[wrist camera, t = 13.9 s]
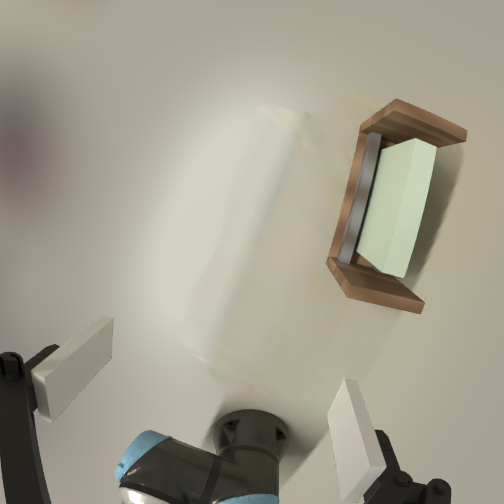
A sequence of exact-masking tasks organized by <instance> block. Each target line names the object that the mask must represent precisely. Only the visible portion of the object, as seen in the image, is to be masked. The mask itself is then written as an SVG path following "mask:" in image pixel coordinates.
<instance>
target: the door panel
mask: <svg viewBox="0 0 504 504" xmlns="http://www.w3.org/2000/svg"><path fill="white" fill-rule="evenodd" d="M436 149H437V147H436V146H433V145H431V144H429V143H426V142H424V141H421V140H419V139H416V138H414V139H411V140H408V141H405V142H403V143H400V144H397V145H394V146H391V147H388V148H385V149H382V150H379V153H378V158H377V162H376V167H375V171H374V176H373V180H372V184H371V188H370V192H369V197H368V201H367V205H366V208H365V212H364V216H363V220H362V224H361V227H360V231H359V235H358V238H357V242H356V245H355V249H354V250H356V251H357V252H358V253H359V254H361V255H362V256H363V257H364V258H365V259H367V260H368V261H369V262H370V263H371V264H373V265H374V266H375V267H376V268H377V269H379V270H380V271H381V272H382V273H386V274H390V275H394V276H397V277H401V278H404V277H405V273H406V270H407V267H408V264H409V261H410V258H411V254H412V251H413V248H414V244H415V241H416V237H417V234H418V230H419V226H420V222H421V219H422V215H423V211H424V207H425V203H426V198H427V194H428V190H429V185H430V180H431V175H432V171H433V165H434V160H435V155H436Z"/></svg>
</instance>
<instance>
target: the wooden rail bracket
mask: <svg viewBox="0 0 504 504" xmlns="http://www.w3.org/2000/svg"><path fill="white" fill-rule="evenodd" d="M466 137H467V130H466V129H464V128H462V127H460V126H458V125H456V124H454V123H452V122H450V121H448V120H445V119H443V118H441V117H439V116H437V115H435V114H432V113H430V112H428V111H426V110H423V109H421V108H419V107H416V106H414V105H411V104H409V103H406V102H404V101H402V100H399V99H395V100H393V101H392V102H391V103H389V104H388V105H387V106H385V107H384V108H382V109H381V110H380V111H378V112H377V113H376V114H374V115H373V116H372V117H370V118H369V119H368V120H366V121H365V122H364V123H362V124H361V127H360V131H359V136H358V141H357V145H356V150H355V154H354V159H353V163H352V168H351V172H350V176H349V180H348V184H347V188H346V192H345V196H344V200H343V204H342V208H341V212H340V216H339V220H338V223H337V227H336V231H335V235H334V238H333V242H332V245H331V249H330V252H329V256H328V259H327V263H326V265H327V266H328V268H329V269H330V271H331V273H332V274H333V276H334V277H335V279H336V281H337V282H338V284H339V285H340V287H341V289H342V290H343V292H344V293H345V295H346V297H347V298H351V299H356V300H360V301H364V302H368V303H373V304H377V305H382V306H386V307H390V308H395V309H399V310H404V311H408V312H413V313H417V314H421V312H422V310H423V307H424V304H425V303H424V301H422V300H421V299H420V298H419V297H418V296H416V295H415V294H414V293H413V292H412V291H410V290H409V289H408V288H407V287H406V286H404V285H403V284H402V283H401V282H399V281H398V280H397V279H396V278H394V277H393V276H392V275H390V274H386V273H382V272H381V271H380V270H379V269H377V268H376V267H375V266H374V265H373V264H371V263H370V262H369V261H368V260H367V259H365V258H364V257H363V256H362V255H361V254H359V253H358V252H357V251H356V250H354V249H355V245H356V242H357V238H358V235H359V231H360V227H361V224H362V220H363V216H364V212H365V208H366V205H367V201H368V197H369V192H370V188H371V184H372V180H373V176H374V171H375V167H376V162H377V158H378V153H379V150H382V149H385V148H388V147H391V146H394V145H397V144H400V143H403V142H405V141H408V140H411V139H414V138H416V139H419V140H421V141H424V142H426V143H429V144H431V145H433V146H436V147H437V148H438V147H443V146H447V145H452V144H457V143H462V142H466Z"/></svg>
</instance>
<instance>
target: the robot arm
mask: <svg viewBox="0 0 504 504" xmlns="http://www.w3.org/2000/svg"><path fill="white" fill-rule="evenodd" d="M112 335H113V318H111V317H108V316H105V315H103V314H102V315H101V316H99V317H98V318H97V319H95V320H94V321H93V322H91V323H90V324H89V325H88V326H86V327H85V328H84V329H82V330H81V331H80V332H79V333H78V334H76V335H75V336H73V337H72V338H71V339H70V340H68V341H67V342H66V343H65V344H63V345H62V346H61V347H60V346H58V345H56V344H54V345H51V346H48V347H46V348H44V349H43V350H42V351H41V352H40V353H38V354H36V355H35V356H34V357H33V358H31V359H30V360H29V361H27V362H26V363H25V364H24V363H23V359H22V357H21V356H20V355H19V354H17V353H15V352H4V353H2V354H0V458H1V459H0V460H1V469H2V478H3V485H4V492H5V498H6V504H51V500H50V497H49V493H48V489H47V485H46V481H45V476H44V472H43V467H42V463H41V458H40V452H39V447H38V441H37V435H36V427H35V419H34V414H33V412H34V411H35V410H36V409H37V408H38V412H39V416H40V417H42V418H43V419H45V420H47V421H49V422H50V423H53V422H54V421H55V420H56V419H57V418H58V417H59V415H60V414H61V413H62V412H63V411H64V410H65V409H66V408H67V407H68V405H69V404H70V403H71V402H72V401H73V400H74V399H75V398H76V397H77V395H78V394H79V393H80V392H81V391H82V390H83V389H84V388H85V387H86V385H87V384H88V383H89V382H90V381H91V380H92V379H93V378H94V377H95V376H96V375H97V373H98V372H99V371H100V370H101V369H102V368H103V367H104V366H105V365H106V364H107V363H108V361H110V359H111V358H112ZM327 418H328V423H329V429H330V434H331V440H332V446H333V452H334V458H335V463H336V469H337V475H338V481H339V488H340V494H341V501H342V503H357V502H358V501H359V500H360V499H361V498H362V497H364V501H365V503H364V504H450V503H451V487H450V486H449V484H448V483H447V482H446V481H444V480H442V479H432V480H431V481H430V482H429V483H428V484H427V485H425V484H420V483H415V482H413V479H412V478H411V476H410V475H409V474H407V473H406V472H403V471H401V470H400V467H399V464H398V461H397V459H396V456H395V453H394V451H393V448H392V446H391V443H390V440H389V438H388V436H387V435H386V434H385V433H384V432H383V431H382V430H374V428H373V425H372V422H371V419H370V416H369V413H368V411H367V408H366V405H365V402H364V400H363V397H362V395H361V391H360V389H359V386H358V383H357V381H356V380H349V379H344V380H343V382H342V384H341V387H340V389H339V391H338V393H337V395H336V397H335V399H334V402H333V404H332V406H331V408H330V410H329V412H328V414H327ZM214 444H215V448H216V453H217V455H215V454H212V453H210V452H207V451H204V450H201V449H199V448H196V447H193V446H191V445H188V444H186V443H183V442H181V441H178V440H176V439H173V438H172V437H171V436H165V435H163V434H160V433H157V432H155V431H152V430H147V431H144V432H142V433H141V434H140V435H138V436H137V437H136V439H135V440H134V441H133V442H132V444H131V445H130V446H129V448H128V449H127V451H126V452H125V454H124V455H123V457H122V459H121V462H120V463H119V465H118V467H117V469H116V471H115V479H116V480H117V481H118V482H119V483H121V484H120V486H119V488H118V493H119V495H120V497H121V499H122V504H279V463H280V461H281V459H282V457H283V455H284V453H285V451H286V449H287V446H288V431H287V428H286V426H285V425H284V423H283V422H282V421H281V420H280V419H278V418H277V417H275V416H274V415H272V414H269V413H267V412H263V411H259V410H239V411H235V412H232V413H229V414H227V415H225V416H224V417H223V418H221V419H220V420H219V422H218V423H217V425H216V428H215V432H214Z"/></svg>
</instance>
